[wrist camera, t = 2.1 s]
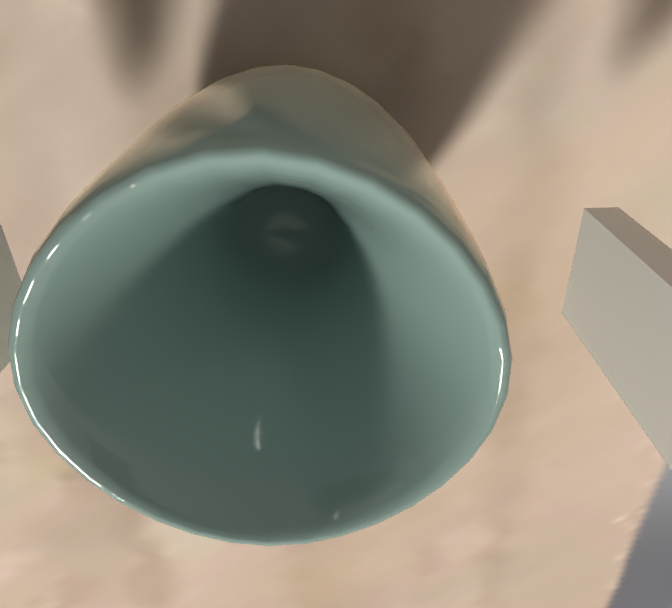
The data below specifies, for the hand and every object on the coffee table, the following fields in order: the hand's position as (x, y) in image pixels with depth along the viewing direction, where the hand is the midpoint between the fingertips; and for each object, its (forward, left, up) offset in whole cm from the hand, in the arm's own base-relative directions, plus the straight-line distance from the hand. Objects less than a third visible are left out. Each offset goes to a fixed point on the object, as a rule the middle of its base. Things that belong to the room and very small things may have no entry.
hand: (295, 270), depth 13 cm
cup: (0, 0, -5) cm, 5 cm away
